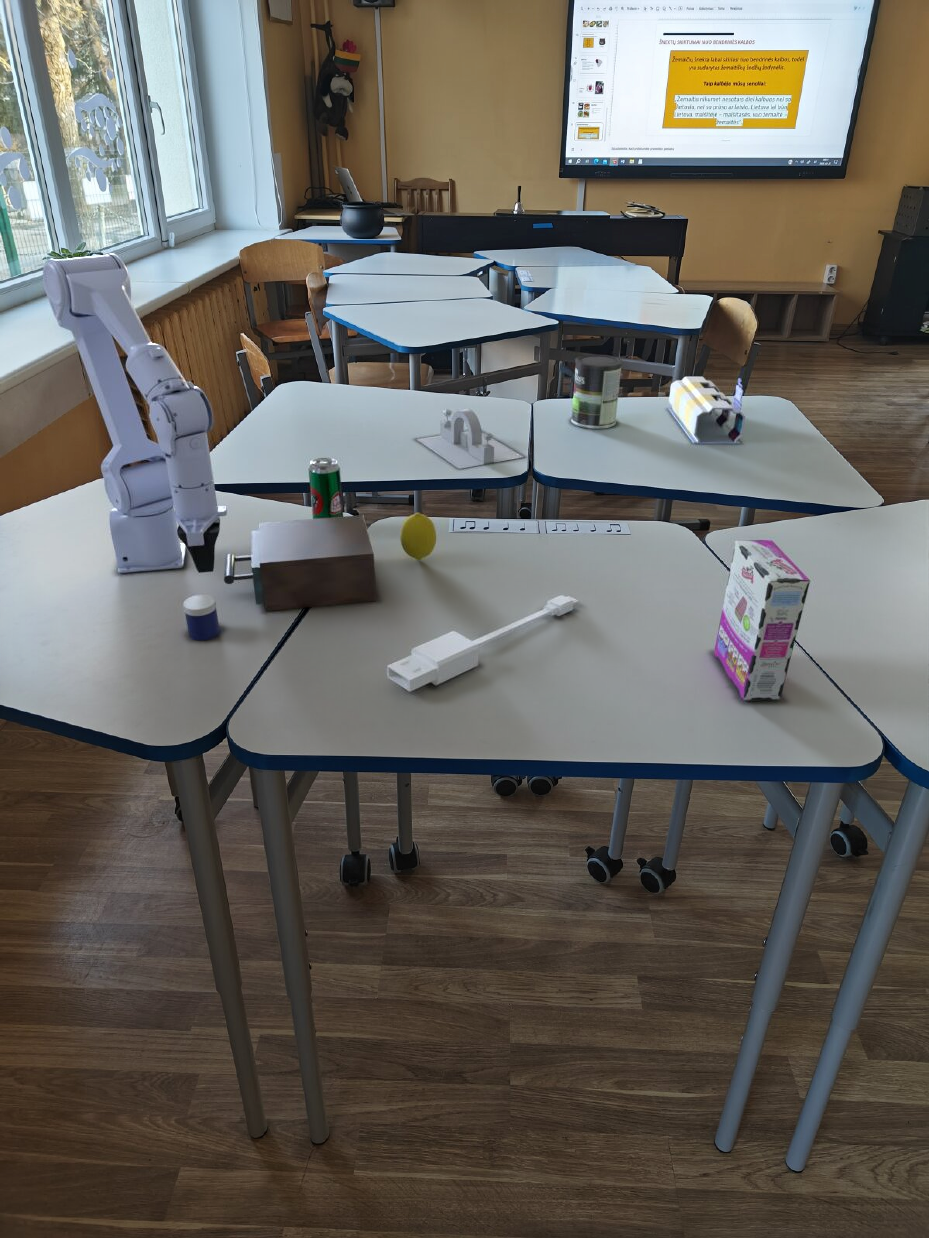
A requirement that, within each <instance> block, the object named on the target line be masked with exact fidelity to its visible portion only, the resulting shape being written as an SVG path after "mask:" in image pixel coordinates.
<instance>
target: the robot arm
mask: <svg viewBox="0 0 929 1238" xmlns="http://www.w3.org/2000/svg"><path fill="white" fill-rule="evenodd" d="M42 279H43V281H42V282H43V288H44V291H45V294H46V296H47V300H48V302H49V305H50V308H51V311H52V314H53V316H54V318H55V319H56V322H57V324H58V326H59V327H60V328H62V329H65V330H68V331H70V332H71V334H72V336H73V339H74V342H75V344H76V346H77V349H78V352H79V355H80V357H81V360H82V363H83V366H84V369H85V371H86V373H87V376H88V380H89V382H90V384H91V388H92V390H93V393H94V396H95V399H96V402H97V404H98V407H99V410H100V412H101V415H102V418H103V421H104V424H105V427H106V429H107V432H108V435H109V439H110V441H111V443H112V448H111V450H110V451H109V452H108V453H107V455H106V456H105V458H104V459H103V460H102V462H101V465H100V470H101V471H100V472H101V474H102V477H103V482H104V483H103V484H104V490H105V493H106V495H107V499H108V500H109V503H110V504H111V505H112V507H113V508H112V509H110V511H109V519H108V520H109V521H108V522H109V531H110V536H111V540H112V545H113V549H114V554H115V559H116V564H117V572H118V573H119V574H124V573H136V572H148V571H158V570H159V571H160V570H170V569H182V568H183V567H184V563H185V557H186V550H188V552H189V554H190V557H191V560H192V562H193V564H194V567H195V569H196V570H197V572H198V573H199V574H201V573H202V574H203V573H213V572H214V568H215V559H216V558H215V557H216V556H215V555H216V554H215V553H216V542H217V540H218V537H219V535H220V530H221V527H220V526H221V518H220V517H225V516H227V515H228V509H227V508H228V507H227V506H225V505H221V506H220V505H218V501H217V494H216V488H215V481H214V472H213V467H212V460H211V453H210V452H211V451H210V446H209V439H208V433H207V432H210V431H211V430H212V429H213V426H214V412H213V408H212V405H211V403H210V401H209V398H208V397H207V395H206V393H205V392H204V390H203V389H201V388H200V387H198V386H195V384H194V383H193V382H191V381H186V379H185V377H184V376H183V374H182V373H181V371H180V369H179V368H178V366H177V365H176V363H175V362H174V360H173V358H172V357H171V355H170V354H169V352H168V350H167V349H166V348H165V346H163V345H161V344H158V343H153V342H152V340H151V338H150V336H149V334H148V332H147V330H146V328H145V326H144V325H143V323H142V321H141V319H140V317H139V314H138V313H137V311H136V309H135V307H134V305H133V303H132V301H131V300H132V286H131V277H130V274H129V271H128V269H127V267H126V264H125V263H124V261H123V260H122V259H121V258H120V257H119V256H118V255H117V254H116V253H113V252H110V253H107V254H103V255H93V256H81V257H72V258H62V259H54V258H49V259H47V260H46V261H45V263H44V265H43V268H42ZM113 338H114V339H115V341H116V342H117V343H118V345H119V346H120V347H121V349H122V350H123V351H124V353H125V354H126V355H127V359H126V361H125V369H126V372H127V373H128V375H129V376H130V377H131V379H132V380H133V382H134V384H135V386H136V387H137V389H138V390H139V392H140V393H141V395H142V397H143V398H144V400H145V402H146V403H147V405H148V406H149V413H148V417H149V420H150V424H151V426H152V429H153V430H154V433H155V435H156V438H157V442H155V441H153V440H151V439H149V438H148V436H147V432H146V430H145V427H144V424H143V421H142V418H141V415H140V413H139V410H138V407H137V404H136V402H135V398H134V396H133V394H132V393H133V392H132V390H131V387H130V384H129V382H128V379H127V376H126V373H125V371H124V368H123V365H122V362H121V359H120V356H119V353H118V349H117V347H116V345H115V341H114V339H113ZM144 460H145V461H147V460H148V461H147V462H143V463H139V464H135V465H131V466H127V467H123V466H126V465H129V464H133V463H137V462H140V461H144ZM180 541H181V542H182V543H181V542H180Z"/></svg>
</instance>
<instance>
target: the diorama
mask: <svg viewBox="0 0 929 1238" xmlns="http://www.w3.org/2000/svg"><path fill="white" fill-rule="evenodd" d="M742 382H743V381H742V378H741V377H739V378H738V379H737V384H736V385H735V394H734V395H733V396H734V397H733V401H731V400H730V398H728V397H727V396H726V395H725V393H723V392H721V390H720V388H719V387H718V386H717V385H715V383H713V381H711V380H710V379H709V380H706V378H705V377H704V376H684V377H683V378H682V379H681V380H680V379H676V380H675V381H673V382H671V384H670V388H669V389H670V390H669V395H668V402H669V404H670V405H671V407H668V411H669V412H670V413H671V415H672V416H673V418H675V420H676V422H677V423H678V424H679V425H680V427H681V428H682V430H683V431H684V432H685V434H686V435H687V437H688V438H689V439H690V441H691V442H692V444H709V445H710V444H713V445H714V444H719V445H720V444H721V445H722V444H724V445H725V444H727V445H728V444H731V445H732V444H733V445H734V444H738V445H739V444H741V442H740V441H739V439H740V438H741V437H742V436H743V433H744V426H745V420H746V415H745V414H744V413H743V412H742V411H741V410H742V406H743V404H742V403H743V401H742V398H743V395H744V390H743V384H741V383H742ZM716 410H721V414H720V415H719V416H717V415H716V413H715V411H716ZM731 412H732V413H733V414H734V415H735V416H734V424H733V427H732V428H731V429H729V428H728V427H727V426H726V425H727V424H728V423H729V421H730V417H731Z"/></svg>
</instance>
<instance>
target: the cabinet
mask: <svg viewBox="0 0 929 1238" xmlns="http://www.w3.org/2000/svg"><path fill="white" fill-rule="evenodd" d="M258 530H259V554H260V570H261V578H262V586H263V594H264V602H265V604H264V608H265V612H273V611H282V610H283V611H284V610H295V609H303V608H305V609H306V608H314V607H325V606H335V605H337V606H338V605H345V604H347V605H348V604H357V603H369V602H376V601H377V591H376V571H375V569H376V568H375V553H374V550H373V546H372V542H371V538H370V535H369V532H368V528H367V524H366V520H365V517H364V515H363V514H361V515H348V516H347V515H345V516H343V517H332V518H319V519H313V518H308V519H307V518H306V519H295V520H283V521H282V520H281V521H280V520H279V521H268V522H267V521H266V522H258Z"/></svg>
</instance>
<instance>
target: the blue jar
mask: <svg viewBox="0 0 929 1238" xmlns="http://www.w3.org/2000/svg"><path fill="white" fill-rule="evenodd" d="M216 602H217V601H216V598H215V597H214V596H212V595H210V594H196V595H192V596H189V597H188V598H186V599H184V601H183V603H182V607H183V611H184V615H185V620H186V626H187V632H188V636H189V638H190V639H191V640H194V641H209V640H211V639H214V638H216V637H217V636H218V635H219V634H220V624H219V618H218V617H219V616H218V610H217V603H216Z"/></svg>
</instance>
